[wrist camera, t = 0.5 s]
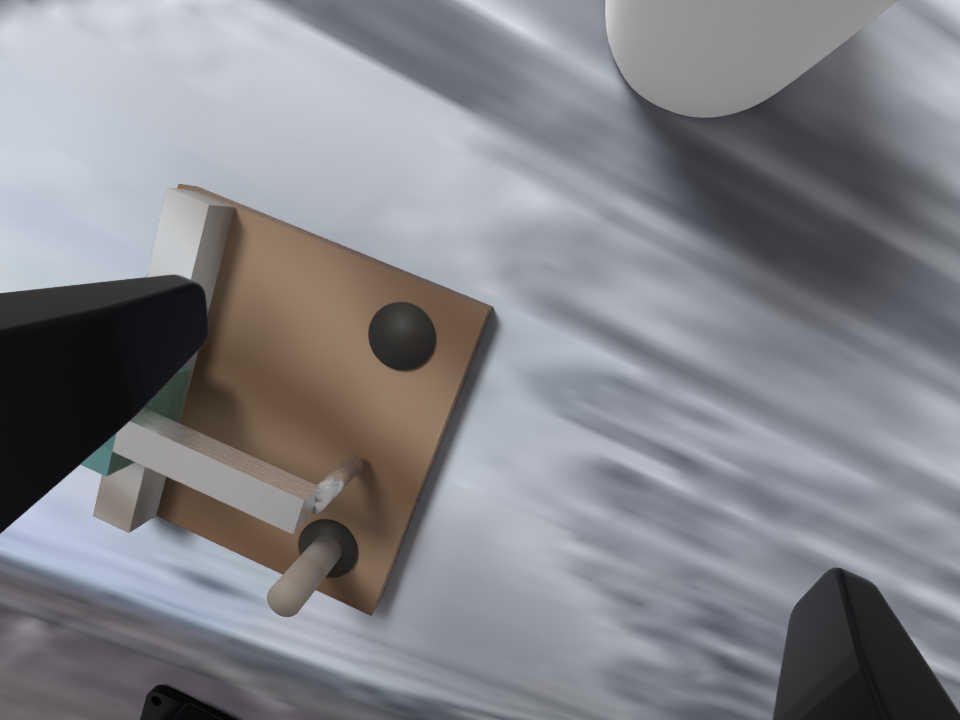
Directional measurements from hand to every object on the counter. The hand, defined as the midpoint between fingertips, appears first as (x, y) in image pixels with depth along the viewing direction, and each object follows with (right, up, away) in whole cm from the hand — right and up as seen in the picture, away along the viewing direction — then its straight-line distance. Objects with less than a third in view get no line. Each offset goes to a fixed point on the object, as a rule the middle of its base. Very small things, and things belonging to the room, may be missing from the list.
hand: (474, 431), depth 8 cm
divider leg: (-9, -1, +14) cm, 17 cm away
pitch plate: (-7, -1, +15) cm, 17 cm away
